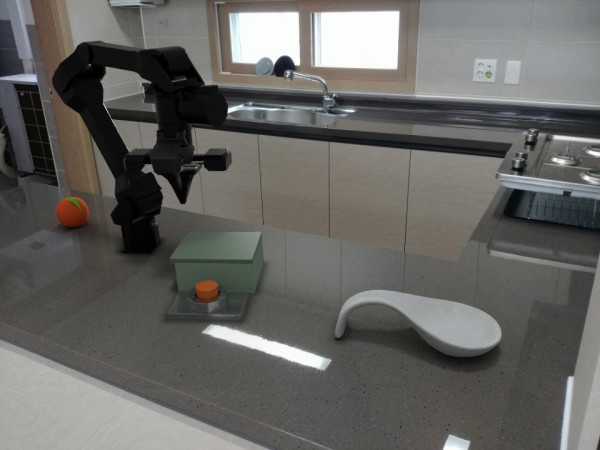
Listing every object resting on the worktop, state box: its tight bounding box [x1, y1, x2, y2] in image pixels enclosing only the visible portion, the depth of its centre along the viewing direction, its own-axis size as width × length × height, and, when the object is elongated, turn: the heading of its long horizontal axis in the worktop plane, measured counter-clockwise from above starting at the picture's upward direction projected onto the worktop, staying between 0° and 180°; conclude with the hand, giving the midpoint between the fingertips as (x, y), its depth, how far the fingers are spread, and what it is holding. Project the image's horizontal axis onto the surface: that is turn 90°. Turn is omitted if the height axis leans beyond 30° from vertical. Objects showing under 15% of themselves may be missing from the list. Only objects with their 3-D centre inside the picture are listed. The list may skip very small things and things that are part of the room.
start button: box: [196, 280, 219, 300], centre depth 88 cm, size 4×4×2 cm
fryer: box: [174, 236, 264, 294], centre depth 98 cm, size 14×12×6 cm
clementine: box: [55, 196, 90, 228], centre depth 122 cm, size 8×7×7 cm
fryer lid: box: [169, 230, 263, 264], centre depth 97 cm, size 14×12×1 cm
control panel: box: [166, 284, 249, 322], centre depth 89 cm, size 12×7×3 cm, turn 85°
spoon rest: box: [334, 289, 503, 358], centre depth 78 cm, size 24×12×7 cm, turn 78°
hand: (183, 203), depth 101 cm, fingers closed
